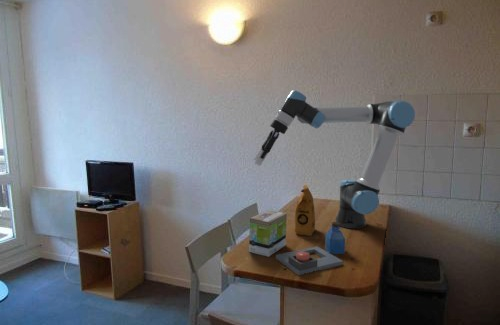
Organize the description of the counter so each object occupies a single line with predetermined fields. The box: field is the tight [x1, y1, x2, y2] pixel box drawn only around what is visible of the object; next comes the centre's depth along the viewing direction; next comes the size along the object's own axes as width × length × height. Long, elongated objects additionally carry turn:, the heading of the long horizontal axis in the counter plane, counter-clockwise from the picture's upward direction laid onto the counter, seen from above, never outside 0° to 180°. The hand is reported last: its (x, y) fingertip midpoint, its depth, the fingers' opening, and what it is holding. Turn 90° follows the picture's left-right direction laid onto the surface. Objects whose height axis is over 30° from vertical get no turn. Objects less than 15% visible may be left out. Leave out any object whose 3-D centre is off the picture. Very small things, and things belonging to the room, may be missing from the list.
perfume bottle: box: [324, 221, 346, 255], centre depth 144 cm, size 6×6×12 cm
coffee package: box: [294, 184, 316, 237], centre depth 167 cm, size 10×12×22 cm
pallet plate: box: [275, 245, 344, 276], centre depth 134 cm, size 20×16×4 cm
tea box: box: [248, 209, 288, 258], centre depth 146 cm, size 15×10×15 cm, turn 148°
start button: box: [296, 252, 311, 262], centre depth 128 cm, size 5×5×2 cm
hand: (256, 162), depth 159 cm, fingers open, 13 cm apart
